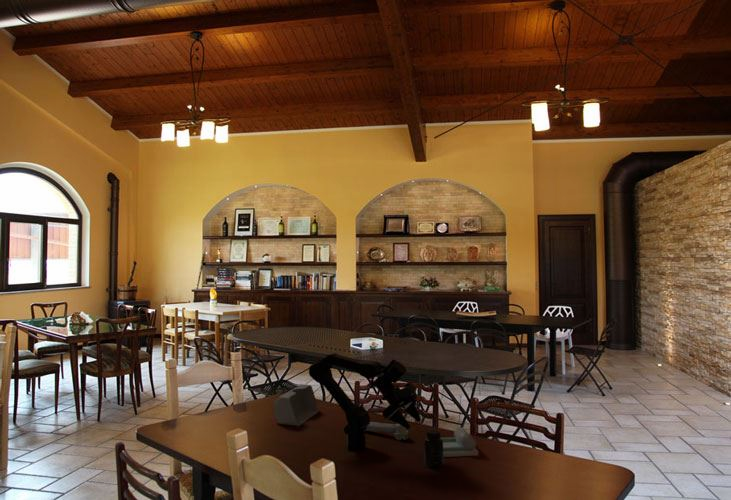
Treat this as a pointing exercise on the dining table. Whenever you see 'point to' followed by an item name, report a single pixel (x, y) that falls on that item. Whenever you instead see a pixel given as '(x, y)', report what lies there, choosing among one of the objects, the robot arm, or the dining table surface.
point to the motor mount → (459, 444)
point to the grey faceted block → (296, 406)
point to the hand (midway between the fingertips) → (414, 424)
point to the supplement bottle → (433, 449)
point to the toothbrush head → (389, 429)
